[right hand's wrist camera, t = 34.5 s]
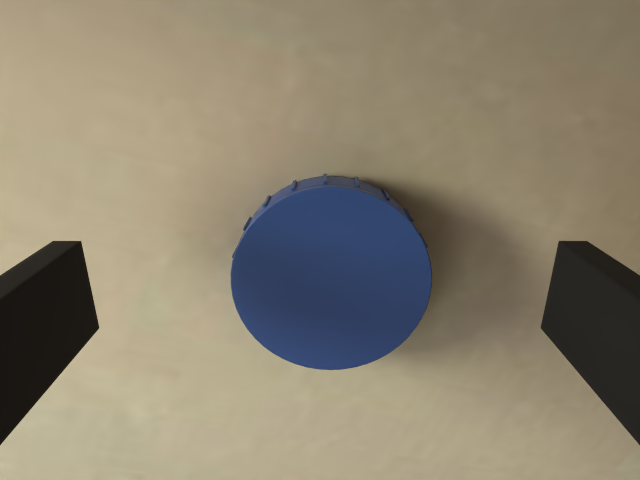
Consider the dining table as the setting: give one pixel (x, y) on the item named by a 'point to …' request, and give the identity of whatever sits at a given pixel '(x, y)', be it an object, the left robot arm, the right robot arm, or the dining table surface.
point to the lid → (331, 273)
